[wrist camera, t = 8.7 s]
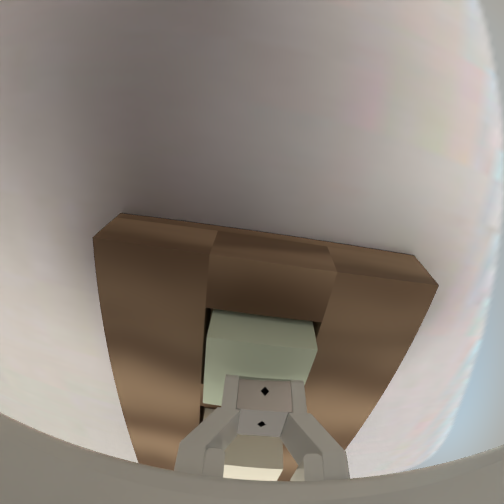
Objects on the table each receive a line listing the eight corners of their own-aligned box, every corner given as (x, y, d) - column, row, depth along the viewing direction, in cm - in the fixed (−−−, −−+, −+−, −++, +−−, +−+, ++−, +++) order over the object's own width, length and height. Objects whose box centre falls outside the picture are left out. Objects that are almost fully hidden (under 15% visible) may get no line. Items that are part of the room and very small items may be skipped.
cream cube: (205, 407, 17) (196, 460, 13) (282, 416, 17) (283, 469, 13) (203, 443, 18) (196, 488, 15) (268, 450, 19) (267, 495, 15)
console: (120, 213, 15) (92, 237, 12) (414, 255, 15) (438, 285, 12) (151, 454, 25) (144, 479, 22) (304, 472, 26) (305, 497, 23)
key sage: (218, 287, 15) (206, 336, 12) (308, 299, 15) (317, 349, 12) (212, 353, 17) (202, 403, 14) (290, 362, 17) (293, 413, 14)
